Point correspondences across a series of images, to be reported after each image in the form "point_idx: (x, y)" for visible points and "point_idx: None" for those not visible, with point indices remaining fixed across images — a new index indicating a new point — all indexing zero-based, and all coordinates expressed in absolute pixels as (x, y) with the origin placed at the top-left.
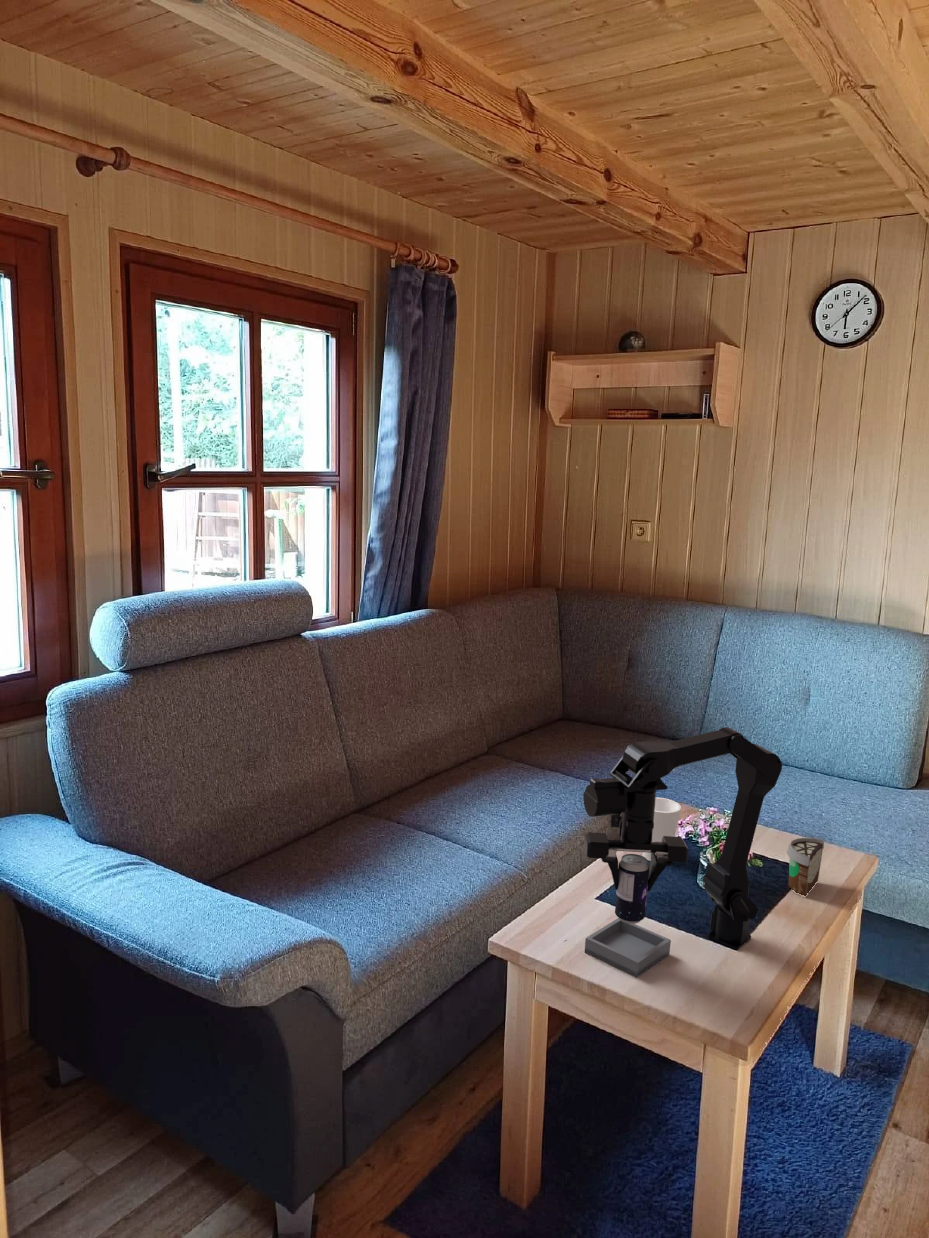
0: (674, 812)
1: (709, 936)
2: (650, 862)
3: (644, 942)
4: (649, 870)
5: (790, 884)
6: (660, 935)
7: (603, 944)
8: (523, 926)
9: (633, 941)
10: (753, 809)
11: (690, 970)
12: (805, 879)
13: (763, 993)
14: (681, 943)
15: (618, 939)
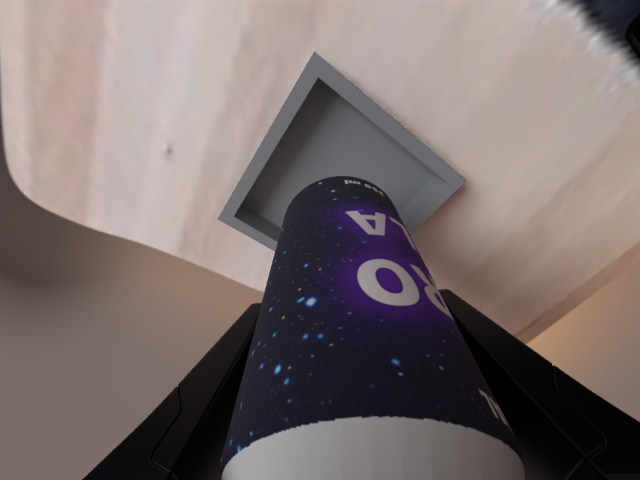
0: None
1: (633, 37)
2: (578, 458)
3: (388, 145)
4: (508, 393)
5: None
6: (441, 160)
7: (268, 239)
8: (22, 95)
9: (356, 148)
10: None
11: (475, 226)
12: None
13: (596, 274)
14: (508, 94)
15: (312, 145)
